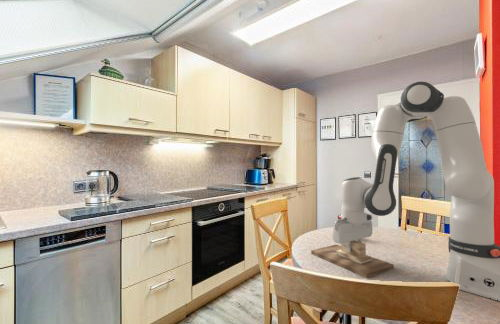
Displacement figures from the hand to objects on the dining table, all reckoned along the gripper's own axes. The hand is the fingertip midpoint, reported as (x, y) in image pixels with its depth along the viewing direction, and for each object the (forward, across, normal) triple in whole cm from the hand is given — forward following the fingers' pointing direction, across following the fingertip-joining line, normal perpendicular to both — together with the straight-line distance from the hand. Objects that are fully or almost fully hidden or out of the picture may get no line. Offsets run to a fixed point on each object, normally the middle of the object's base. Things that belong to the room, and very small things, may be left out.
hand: (353, 250), depth 101 cm
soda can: (+5, +25, +25) cm, 36 cm away
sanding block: (+3, 0, 0) cm, 3 cm away
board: (+5, 0, +2) cm, 5 cm away
